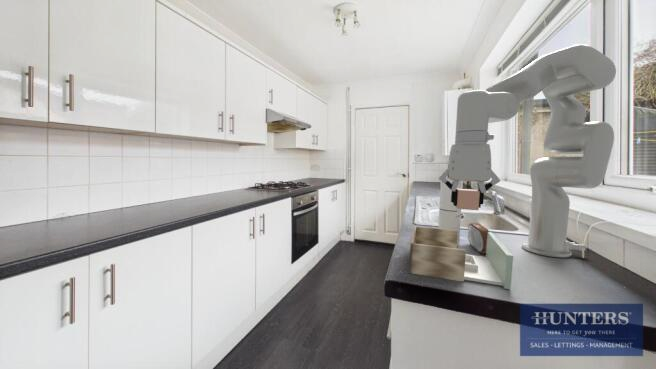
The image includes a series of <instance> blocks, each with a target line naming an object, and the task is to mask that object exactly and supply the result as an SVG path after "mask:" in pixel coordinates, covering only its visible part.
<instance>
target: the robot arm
mask: <svg viewBox="0 0 656 369" xmlns="http://www.w3.org/2000/svg"><path fill="white" fill-rule="evenodd" d="M616 68H617V67H616V65H615V63H614V61H613V60H612V59H611V58H609V57H608V56H606V55H605V54H604V53H602V52H601V51H599V50H598V49H596V48H594V47H593V46H590V45H588V44H574V45H572V46H568V47H565V48H561V49H559V50H556V51H554V52H553V51H552V52H550V53H548V54H544V55H542V56H540V57H538V58H536V59H535V60H533V61H532V62H531V63H529V64H528V65H526V66H525V67H523V68H522V69H521V70H519V71H518V72H516V73H515V74H513V75H511V76H509V77H506V78H504V79H503V80H501V81H499V82H497V83H495V84H493V85H491V86H489V87H486V88H485V89H484V90H482V89H476V90H469V91H465V92H463V93H461V94H460V95H459V96H458V98H457V103H456V104H457V107H456V108H457V109H456V124H455V137H454V143H453V144H452V145H451V147H450V151H449V156H448V162H447V168H446V169H445V171H444V172H443V173H442V174H440V176H439V177H438V179H439V180H440V182H441V181H442V182H443V183H444V184H446V185H447V186H448V187H449V188H450V189H451V190H452V193H451V202H453V205H454V206H457V197H458V192H457V186H458V184H459V181H463V182H476V185H477V190H478V191H480V196H479V208H481V207H482V206H481V205H484V200H485V199H484V197H485V193H486V192H487V191H488V190H490V189H491V188H492V187H493V186H495V185H497V184H498V183H500V182H501V179H500V178H499V177H498V176H497V174H496V173H495V172H494V171H493V169H492V151H491V145H490V143H488V141H490V140H491V141H493V140H494V139H495V135H494V134H490V133H489V130H488V129H489V124H491V123H498V122H499V123H500V122H504V121H509V120H510V119H513V118H514V117H515V116H516V115H517V114H518V113H519V110H520V104H521V103H522V102H523V103H524V102H525V101H526V102H527V101H528V100H530V99H532V98H534V97H535V96H537V95H539V93H541V92H542V94H543V96H544V97H545V98H544V99H545V100H546V101H547V103H548V106H549V108H550V117H549V122H548V126H547V129H546V132H545V136H544V142H543V148H544V151H546V152H547V153H549V154H553V155H554V154H555V155H582V156H546V157H540V158H538V159H536V160H534V161H533V163H532V164H531V166H530V168H529V169H530V170H529V174H530V180H531V201H530V202H531V204H530V206H531V207H530V213H529V214H530V216H529V227H528V240H527V241H526V242H523V243H521V244H522V245H521V247H522V249H524V250H525V251H527V252H530V253H532V254H533V253H534V254H537V255H541V256H544V257H545V256H547V257H553V258H560V259H562V258H570V257H571V256H572V254H573V253H572V251H573V250H577V251H583V252H585V251H587V250H586V249H587V248H586V245H585V244H583V243H576V242H570V241H569V240H567V233H568V223H569V215H570V205H571V204H570V203H571V202H570V198H569V196H568V194H567V192H566V191H565V190H564V188H571V189H595V188H598V187H599V186H601V184H602V183H603V181H604V179H605V176H606V172H607V169H608V165H609V162H610V158H611V155H612V150H613V147H614V142H615V131H614V128H613V127H612V125H611V124H610V123H608V122H606V121H597V120H596V121H588V122H586V121H585V118H586V115H587V108H586V106H585V105H584V104H583V103H582V102H581V101H580V100H579V99H577V98H576V97H575V96H574V95H575V94H581V93H586V92H592V91H596V90H601V89H604V88H607V87H609V85H611V83H613V81H614V80H615V78H616V74H617V69H616ZM447 176H448V178H449V179H451V180H453V183H452V184H451V183H450V182H449V181H448V180H446V177H447Z"/></svg>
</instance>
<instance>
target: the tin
mask: <svg viewBox="0 0 656 369" xmlns="http://www.w3.org/2000/svg"><path fill="white" fill-rule="evenodd" d="M487 232H490V231H489V229H488V228H487V227H485V226H484V225H482V224H481V223H479V222H473V223H472V222H471V223H469V224H468V226H467V239H468V242H469V245H470V246H471V247H472V248H473V249H474V250H476V252H477V253H479V254H482V255H486V247H487Z"/></svg>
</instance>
